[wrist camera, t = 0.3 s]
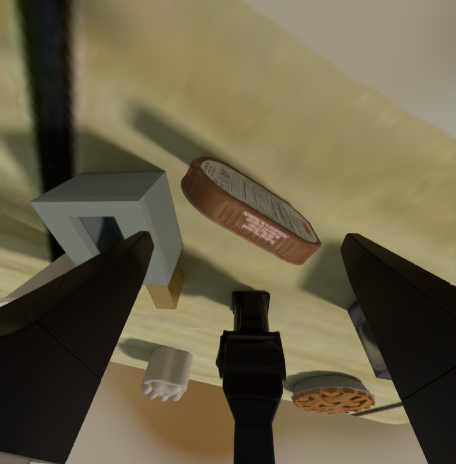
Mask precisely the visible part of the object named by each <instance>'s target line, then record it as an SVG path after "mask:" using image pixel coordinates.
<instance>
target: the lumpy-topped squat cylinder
mask: <svg viewBox="0 0 456 464" xmlns="http://www.w3.org/2000/svg"><path fill="white" fill-rule="evenodd" d="M192 358H193V355H192V354H191V353H189V352H187V351H182V350H178V349H175V348H172V347H168V346H159V347H157V348H156V349H155V350H154V351H153V352H152V355H151V358H150V360H149V363H148V366H147V369H146V372H145V375H144V378H143V381H142V384H141V391H142V393H143V394H148V395H149V398H150V399H154V398H155V397H156V396H159V399H160V400H161V401H165V400H167V399H168V397H172V400H174V401H177V400H179V399H180V397H181V395H182V394H183V393H184V392H185V391H186V389H187V384H188V379H189V374H190V369H191V364H192Z"/></svg>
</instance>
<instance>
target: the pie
mask: <svg viewBox="0 0 456 464" xmlns="http://www.w3.org/2000/svg"><path fill="white" fill-rule="evenodd" d="M291 399H292V400H293V402H294V405H296V406H297V407H298V408H304V409H305V411H310V410H311V411H315V412H319V413H322V412H327V413H329V414H335V413H340V412H341V413H349V412H350V411H354V412H359V411H361V409H369V408H370V405H372V406H374V405H375V402H374V395H373V394H371V393H370V392H369V391H368V390H367V389H366V388H365V386H364V385H363V384H362V383H360V382H359V381H357V380H355V379H351V378H348V377H344V376H334V375H329V376H318V377H313V378H308V379H305V380H303V381H301V382H298V383H297V384H296V385H295V387H294V393H293V396H292V397H291Z"/></svg>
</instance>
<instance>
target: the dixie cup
mask: <svg viewBox="0 0 456 464" xmlns="http://www.w3.org/2000/svg"><path fill="white" fill-rule="evenodd" d="M75 267H76V266H75V264H74V263H73V262H72V260H71V259H70V257H69V256H68V255H67V253H65V254H64V255H62V256H61V257H60V258H58V259H57V260H55V261H54V262H53V263H51V264H50V265H49V266H47V267H46V268H45V269H43V270H42V271H40V272H39V273H38V274H36V275H35V276H34V277H32V278H31V279H30V280H28V281H27V282H25V283H24V284H23V285H21V286H20V287H19V288H17V289H16V290H15V291H13V292H12V293H10V294H9V295H8V296H6V297H5V298H1V299H0V307H1V306H3V305H5V304H7V303H9V302H11V301H13V300H15V299H17V298H19V297H21V296H23V295H25V294H27V293H29V292H31V291H33V290H35V289H37V288H39V287H40V286H42V285H44V284H46V283H48V282H50V281H51V280H53V279H55V278H57V277H59V276H60V275H62V274H64V273H66V272H68V271H69V270H71V269H73V268H75Z"/></svg>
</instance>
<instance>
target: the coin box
mask: <svg viewBox="0 0 456 464" xmlns="http://www.w3.org/2000/svg"><path fill="white" fill-rule="evenodd" d="M29 203H30V204H31V205H32V207H33V208H34V209H35V211H36V212H37V214H38V215H39V216H40V218H41V219H42V220H43V222H44V223H45V225H46V226H47V227H48V229H49V230H50V231H51V233H52V234H53V236H54V237H55V238H56V240H57V241H58V242H59V244H60V245H61V246H62V248H63V249H64V251H65V252H66V253H67V255H68V256H69V257H70V259H71V260H72V262H73V263H74V264H75V266H78V265H80V264H82V263H84V262H85V261H87V260H89V259H91V258H92V257H94V256H96V255H98V254H100V253H101V252H103V251H105V250H107V249H109V248H110V247H112V246H114V245H116V244H117V243H119V242H121V241H123V240H125V239H126V238H128V237H130V236H132V235H133V234H135V233H137V232H139V231H149V232H150V234H151V237H152V240H153V243H154V250H153V254H152V257H151V260H150V264H149V267H148V270H147V274H146V276H145V279H144V281H143V284H146V285H169V282H170V279H171V277H172V274H173V271H174V269H175V266H176V264H177V261H178V258H179V256H180V253H181V250H182V248H183V243H182V239H181V235H180V230H179V226H178V222H177V218H176V214H175V210H174V205H173V201H172V197H171V193H170V189H169V185H168V180H167V176H166V172H165V171H155V172H108V173H81V174H79V175H77V176H75V177H74V178H72V179H70V180H68V181H66V182H65V183H63V184H61V185H59V186H57V187H56V188H54V189H52V190H50V191H48V192H47V193H45V194H43V195H41V196H39V197H38V198H36V199H34V200H32V201H30V202H29Z"/></svg>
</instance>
